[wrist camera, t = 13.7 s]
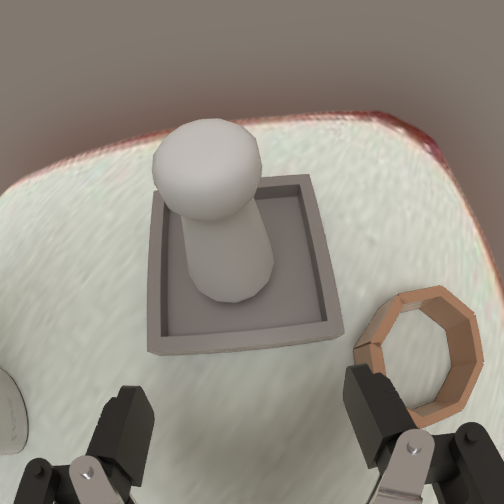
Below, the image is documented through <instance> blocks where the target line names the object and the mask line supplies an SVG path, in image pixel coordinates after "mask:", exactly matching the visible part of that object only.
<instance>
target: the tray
mask: <svg viewBox="0 0 504 504" xmlns="http://www.w3.org/2000/svg"><path fill="white" fill-rule="evenodd" d="M254 199H255V202H256V205H257V207H258V210H259V213H260V215H261V218H262V221H263V224H264V226H265V229H266V232H267V235H268V237H269V240H270V243H271V247H272V253H273V259H274V265H273V268H272V272H271V275H270V279H269V281H268V283H267V284H266V285H265V286H264V287H263V288H262V289H261V290H260V291H259V292H258V293H257V294H256V295H255V296H253V297H251V298H248V299H246V300H243V301H240V302H238V303H228V302H217V301H215V300H213V299H211V298H210V297H208V296H206V295H205V294H203V293H201V292H200V291H198V289H197V287H196V286H195V284H194V283H193V281H192V279H191V278H190V276H189V273H188V265H187V257H186V249H185V241H184V233H183V226H182V220H181V215H179V214H177V213H175V212H173V211H172V210H170V209H169V208H168V206H167V205H166V203H165V201H164V200H163V198H162V196H161V195H160V193H159V191H158V190H157V191H154V194H153V204H152V214H151V226H150V240H149V256H148V279H147V352H150V353H153V354H156V355H189V354H208V353H222V352H235V351H246V350H256V349H265V348H274V347H282V346H290V345H297V344H305V343H311V342H318V341H324V340H330V339H336V338H337V337H339V336H341V335H342V334H344V333H345V332H344V326H343V320H342V315H341V309H340V304H339V299H338V294H337V288H336V284H335V279H334V274H333V269H332V264H331V260H330V255H329V251H328V246H327V242H326V238H325V234H324V229H323V225H322V221H321V217H320V213H319V209H318V205H317V201H316V198H315V194H314V190H313V186H312V183H311V179H310V175H309V174H302V175H287V176H274V177H263V178H261V179H260V181H259V184H258V187H257V190H256V192H255V195H254Z"/></svg>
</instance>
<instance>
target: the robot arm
mask: <svg viewBox="0 0 504 504" xmlns="http://www.w3.org/2000/svg"><path fill="white" fill-rule="evenodd" d="M343 401H344V405H345V408H346V410H347V413H348V416H349V418H350V421H351V423H352V426H353V429H354V431H355V434H356V437H357V439H358V442H359V444H360V447H361V450H362V453H363V455H364V458H365V461H366V463H367V466H368V469H371V468H374V467H378V470H379V472H380V474H379V476H378V478H377V480H376V483H375V485H374V487H373V489H372V491H371V493H370V495H369V498H368V500H367V502H366V504H422V501H423V499H422V498H421V493H422V490H423V487H424V484H432V486H433V489H434V492H435V494H436V497H437V500H438V503H439V504H504V461H503V459H502V458H501V456H500V454H499V452H498V450H497V449H496V447H495V445H494V443H493V441H492V440H491V438H490V436H489V435H488V433H487V431H486V430H485V428H484V427H483V426H482V425H480V424H478V423H475V422H468V423H465V424H463V425H461V426H460V427H459V428H458V430H457V431H456V433H450V434H442V435H430V434H429V433H428V432H426V431H424V430H421V429H419V428H418V427H417V426H416V424H415V423H414V421H413V419H412V417H411V415H410V414H409V412H408V410H407V408H406V407H405V405H404V403H403V401H402V400H401V398H400V396H399V394H398V393H397V391H395V388H394V386H393V384H392V383H391V381H390V379H389V378H387V377H386V376H384V375H383V374H382V373H380V372H378V373H374V374H373V373H372V371H371V369H370V368H369V366H368V364H367V363H362V364H357V365H353V366H348V367H347V368H346V374H345V381H344V388H343ZM100 416H101V418H99V421H98V425H97V426H96V428H95V431H94V434H93V436H92V439H91V442H90V444H89V447H88V450H87V452H86V454H85V456H81V457H78V458H76V459H75V460H74V461H73V462H72V463H71V465H62V466H52V465H51V464H50V463H49V462H48V461H47V460H45V459H43V458H35V459H33V460H31V461H30V462H29V463H28V464H27V466H26V468H25V471H24V473H23V476H22V479H21V482H20V485H19V488H18V491H17V494H16V497H15V500H14V504H53V501H54V504H137V502H136V501H135V499H134V498H133V496H132V494H131V493H130V489H131V486H137V487H141V484H142V479H143V474H144V469H145V464H146V459H147V454H148V450H149V445H150V440H151V436H152V431H153V427H154V421H155V417H154V412H153V409H152V407H151V405H150V403H149V401H148V399H147V397H146V395H145V393H144V391H143V389H142V387H141V386H122V387H121V388H120V391H119V393H118V396H117V397H112V398H111V399H110V400H109V401H108V402H107V403H106V405H105V406H104V408H103V410H102V413H101V415H100ZM27 432H28V426H27V416H26V410H25V407H24V403H23V400H22V397H21V395H20V392H19V390H18V388H17V386H16V384H15V383H14V381H13V380H12V378H11V377H10V376H9V375H8V374H7V373H6V372H5V371H3V370H1V369H0V455H8V454H15V453H18V452H20V451H21V450H22V449H23V447H24V446H25V443H26V439H27Z"/></svg>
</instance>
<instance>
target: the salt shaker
mask: <svg viewBox="0 0 504 504" xmlns="http://www.w3.org/2000/svg"><path fill="white" fill-rule="evenodd" d="M152 174H153V180H154V184H155V186H156V187H157V189H158V191H159V193H160V195H161V196H162V198H163V200H164V201H165V203H166V205H167V206H168V208H169V209H170V210H172V211H173V212H175V213H177V214H179V215H181V220H182V226H183V233H184V241H185V249H186V257H187V265H188V273H189V276H190V278H191V279H192V281H193V283H194V284H195V286H196V287H197V289H198V291H200V292H201V293H203V294H205V295H206V296H208V297H210V298H211V299H213V300H215V301H217V302H228V303H238V302H240V301H243V300H246V299H248V298H251V297H253V296H255V295H256V294H257V293H258V292H259V291H260V290H261V289H262V288H263V287H264V286H265V285H266V284H267V283H268V281H269V279H270V275H271V272H272V268H273V265H274V259H273V253H272V247H271V243H270V240H269V237H268V235H267V232H266V229H265V226H264V224H263V221H262V218H261V215H260V213H259V210H258V207H257V205H256V202H255V199H254V195H255V192H256V190H257V187H258V184H259V181H260V179H261V174H262V163H261V158H260V154H259V149H258V145H257V142H256V138H255V137H254V136H253V135H252V134H251V133H249V132H248V131H247V130H246V129H245V128H244V127H243V126H240V125H237V124H234V123H231V122H228V121H225V120H222V119H200V120H196V121H193V122H190V123H187V124H184V125H182V126H180V127H179V128H177V129H176V130H174V131H173V132H172V133H170V134H169V135H168V136H167V137H166V138H165V139H164V140H163V142H162V143H161V144H160V146H159V147H158V149H157V150H156V152H155V153H154V155H153V165H152Z"/></svg>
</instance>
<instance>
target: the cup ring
mask: <svg viewBox="0 0 504 504" xmlns="http://www.w3.org/2000/svg"><path fill="white" fill-rule="evenodd" d="M416 309H420V310H421V311H422V312H424V313H425V314H426V315H428V316H429V317H430V318H431V319H433V320H434V321H435V322H436V323H438V324H439V325H440V326H441V327H443V328H444V329H445V330H446V335H447V340H448V345H449V351H450V357H451V364H452V368H451V370H450V372H449V374H448V376H447V378H446V380H445V382H444V384H443V386H442V388H441V390H440V392H439V393H438V395H437V397H436V399H435V401H434V402H432V403H429V404H426V405H424V406H421V407H419V408H416V409H413V410H410V409H409V408H407V407H406V406H405V407H406V408H407V410H408V412H409V414H410V415H411V417H412V419H413V421H414V423H415V424H416V426H417V427H418V428H419V429H422V428H424V427H427V426H429V425H432V424H434V423H436V422H439V421H441V420H443V419H445V418H447V417H450V416H452V415H454V414H456V413H458V412H460V411H462V409H464V407H465V405H466V403H467V401H468V399H469V397H470V395H471V392H472V390H473V388H474V386H475V384H476V381H477V379H478V377H479V374H480V372H481V370H482V367H483V365H484V364H483V363H482V362H484V358H483V351H482V345H481V340H480V334H479V329H478V324H477V320H476V315H474V312H473V311H472V310H471V309H469V308H468V307H467V306H466V305H465V304H464V303H462V302H461V301H460V300H459V299H458V298H456V297H455V296H454V295H453V294H452V293H450V292H449V291H448V290H447V289H446V288H444V287H443V286H440V285H439V286H434V287H429V288H425V289H420V290H415V291H410V292H404V293H399V294H398V295H396V296H395V297H394V298H392V299H391V300H389V301H388V302H387V303H385V304H384V305H382V306H381V307H380V308H379V309H378V310H377V312H376V314H375V315H374V317H373V318H372V320H371V322H370V323H369V325H368V327H367V328H366V330H365V331H364V333H363V334H362V336H361V337H360V339H359V340H358V342H357V343H356V345H355V346H354V349H355V350H353V353H354V360H355V365H357V364H362V363H367V364H368V366H369V368H370V369H371V371H372V373H373V374H374V373H378V372H380V373H382V374H383V375H384V376H386V373H385V366H384V359H383V353H382V347H381V344H382V343H383V341H384V340H385V338H386V336H387V334H388V333H389V331H390V329H391V328H392V326H393V324H394V322H395V321H396V319H397V317H398V315H399V313H402V312H407V311H411V310H416Z"/></svg>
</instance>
